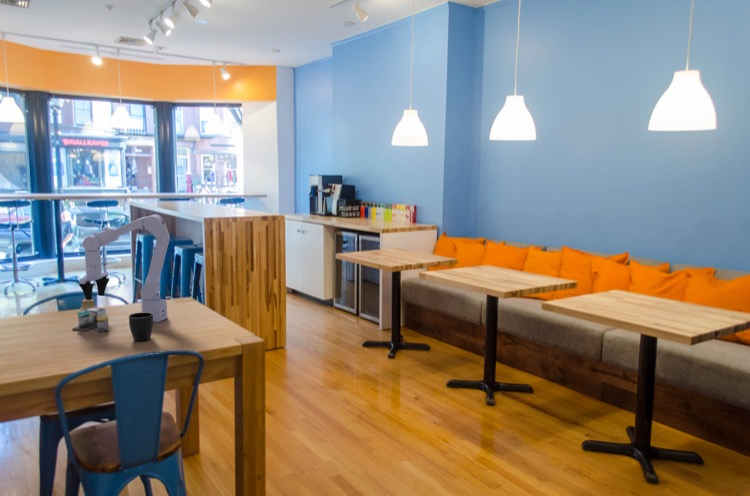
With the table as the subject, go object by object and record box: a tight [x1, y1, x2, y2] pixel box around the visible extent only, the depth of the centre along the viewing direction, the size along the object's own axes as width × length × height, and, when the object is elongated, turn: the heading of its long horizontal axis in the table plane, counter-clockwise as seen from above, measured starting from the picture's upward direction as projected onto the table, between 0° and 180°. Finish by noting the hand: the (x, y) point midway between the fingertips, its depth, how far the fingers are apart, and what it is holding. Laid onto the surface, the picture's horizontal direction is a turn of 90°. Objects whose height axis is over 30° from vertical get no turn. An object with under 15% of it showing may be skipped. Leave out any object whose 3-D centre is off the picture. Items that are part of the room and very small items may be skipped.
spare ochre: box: [96, 314, 110, 334], centre depth 215 cm, size 4×4×6 cm
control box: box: [85, 307, 107, 325], centre depth 224 cm, size 6×5×6 cm
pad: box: [72, 325, 97, 332], centre depth 218 cm, size 6×6×1 cm
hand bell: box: [77, 281, 97, 313], centre depth 242 cm, size 8×8×16 cm
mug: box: [128, 311, 154, 343], centre depth 207 cm, size 8×12×10 cm
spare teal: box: [77, 310, 90, 328], centre depth 217 cm, size 4×4×6 cm
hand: (95, 297), depth 228 cm, fingers open, 7 cm apart
